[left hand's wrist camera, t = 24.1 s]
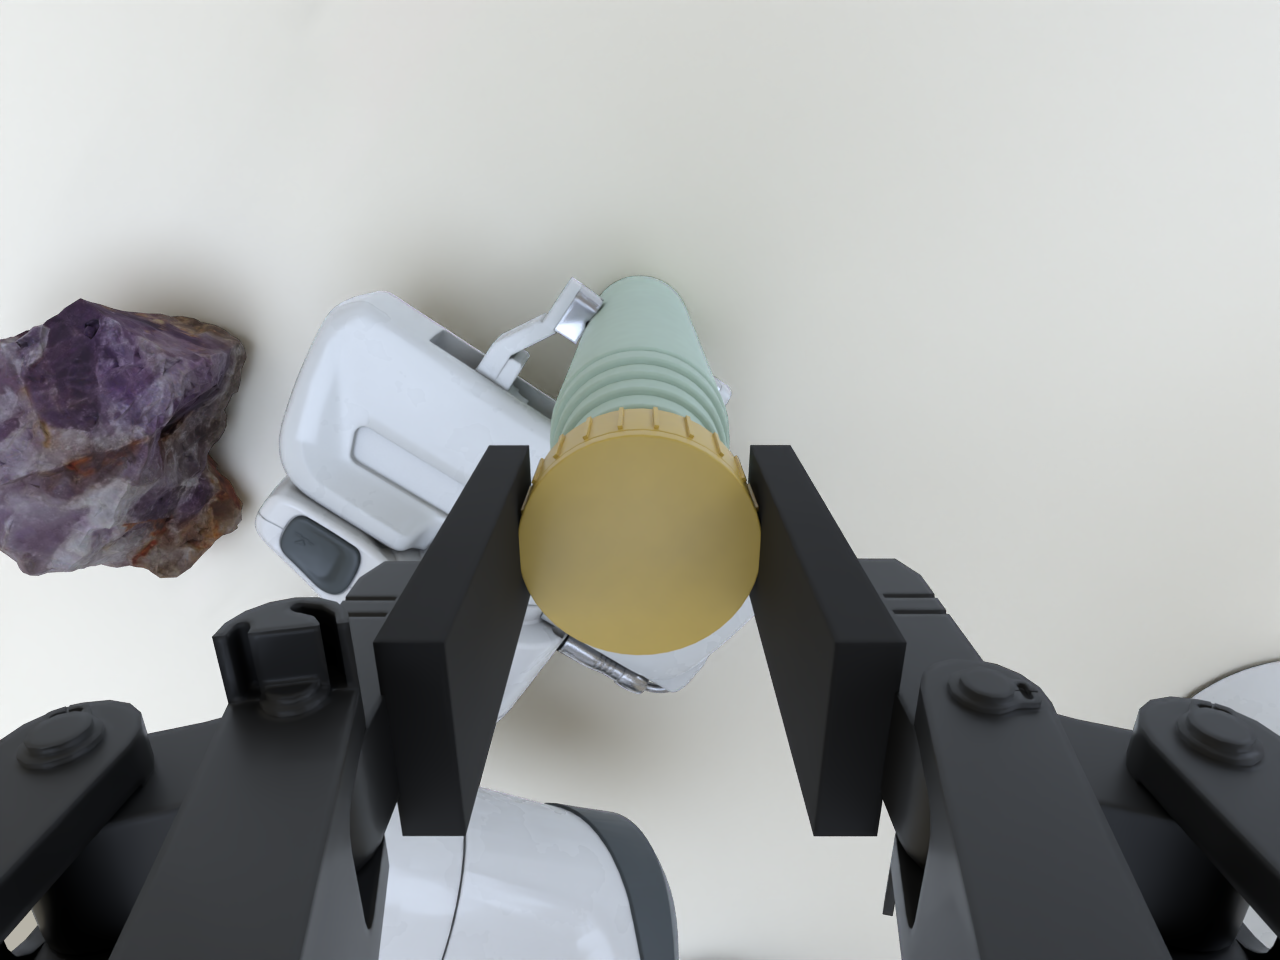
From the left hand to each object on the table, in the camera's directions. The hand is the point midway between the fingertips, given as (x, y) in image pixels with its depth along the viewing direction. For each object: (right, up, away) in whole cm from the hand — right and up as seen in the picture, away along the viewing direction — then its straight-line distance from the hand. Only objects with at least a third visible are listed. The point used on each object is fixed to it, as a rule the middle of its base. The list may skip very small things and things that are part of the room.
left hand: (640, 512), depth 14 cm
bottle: (0, +8, +20) cm, 21 cm away
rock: (-23, +4, +21) cm, 31 cm away
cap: (0, -1, -1) cm, 1 cm away
